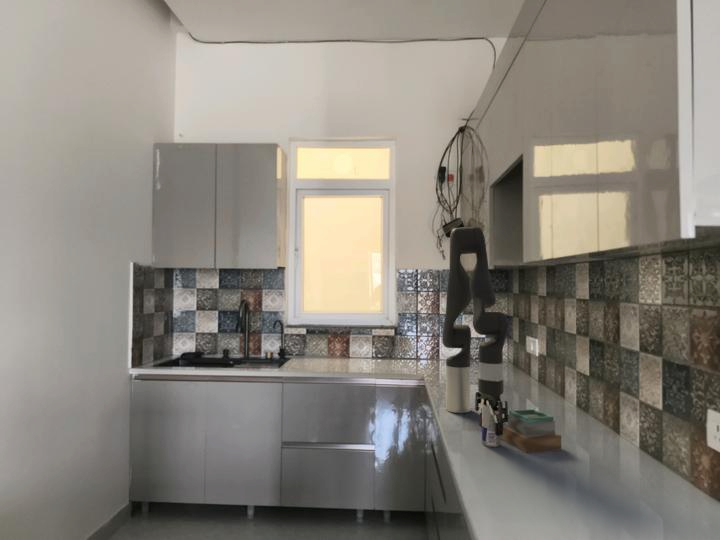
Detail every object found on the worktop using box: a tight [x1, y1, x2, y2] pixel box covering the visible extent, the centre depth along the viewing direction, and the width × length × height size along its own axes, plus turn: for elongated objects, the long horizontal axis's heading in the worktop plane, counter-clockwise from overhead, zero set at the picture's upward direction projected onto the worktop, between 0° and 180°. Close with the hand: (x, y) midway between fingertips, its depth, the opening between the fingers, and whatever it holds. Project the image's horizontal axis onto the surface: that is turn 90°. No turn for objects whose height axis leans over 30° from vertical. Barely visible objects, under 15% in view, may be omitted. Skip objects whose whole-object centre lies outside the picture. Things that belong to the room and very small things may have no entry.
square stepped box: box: [502, 408, 562, 454], centre depth 136 cm, size 12×12×9 cm
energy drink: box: [481, 404, 501, 448], centre depth 136 cm, size 5×5×12 cm
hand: (490, 430), depth 136 cm, fingers open, 8 cm apart
